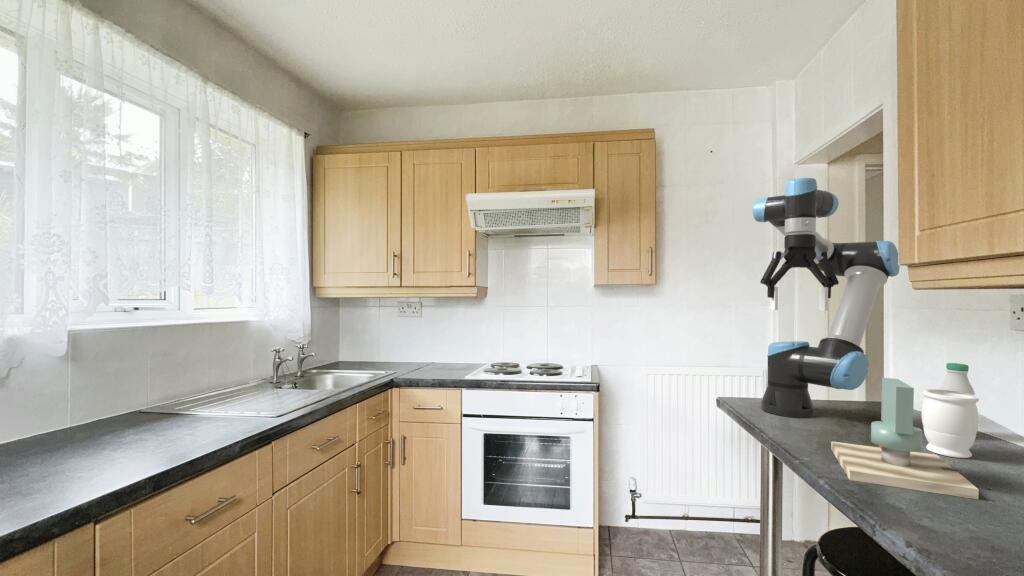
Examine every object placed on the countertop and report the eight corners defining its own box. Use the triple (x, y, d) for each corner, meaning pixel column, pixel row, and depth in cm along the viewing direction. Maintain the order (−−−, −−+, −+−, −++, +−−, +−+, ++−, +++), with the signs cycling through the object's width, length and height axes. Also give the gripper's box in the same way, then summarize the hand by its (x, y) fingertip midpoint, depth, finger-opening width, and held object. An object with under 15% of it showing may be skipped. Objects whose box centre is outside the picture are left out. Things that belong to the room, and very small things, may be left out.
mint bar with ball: (877, 449, 105) (879, 385, 104) (863, 432, 116) (864, 375, 116) (930, 455, 101) (931, 389, 101) (910, 438, 112) (911, 378, 112)
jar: (970, 450, 122) (971, 392, 122) (984, 463, 113) (985, 400, 113) (916, 443, 127) (917, 386, 127) (925, 454, 118) (927, 394, 118)
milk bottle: (950, 438, 132) (951, 365, 132) (930, 429, 139) (932, 361, 139) (982, 439, 130) (984, 366, 130) (961, 431, 138) (962, 362, 138)
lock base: (830, 448, 122) (831, 426, 122) (939, 462, 113) (939, 438, 113) (849, 479, 103) (850, 453, 102) (983, 500, 94) (983, 471, 93)
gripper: (760, 232, 131) (759, 310, 131) (854, 233, 130) (853, 311, 130) (748, 235, 138) (747, 308, 139) (837, 236, 137) (835, 309, 138)
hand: (798, 310), depth 134 cm, fingers open, 13 cm apart
